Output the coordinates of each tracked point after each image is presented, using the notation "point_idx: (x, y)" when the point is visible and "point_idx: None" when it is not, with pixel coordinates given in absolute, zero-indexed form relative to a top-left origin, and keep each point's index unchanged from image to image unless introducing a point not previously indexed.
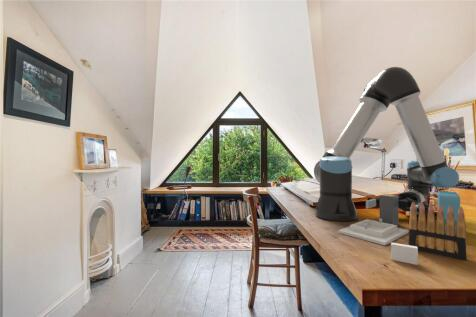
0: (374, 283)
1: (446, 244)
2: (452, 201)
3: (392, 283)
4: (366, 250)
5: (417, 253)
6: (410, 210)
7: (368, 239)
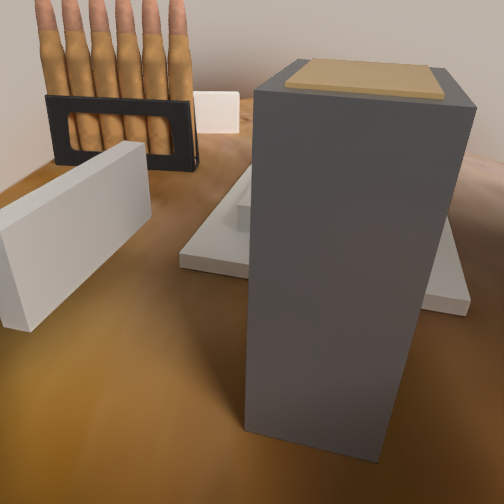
0: (251, 100)
1: (100, 125)
2: None
3: None
4: None
5: None
6: (145, 171)
7: None
